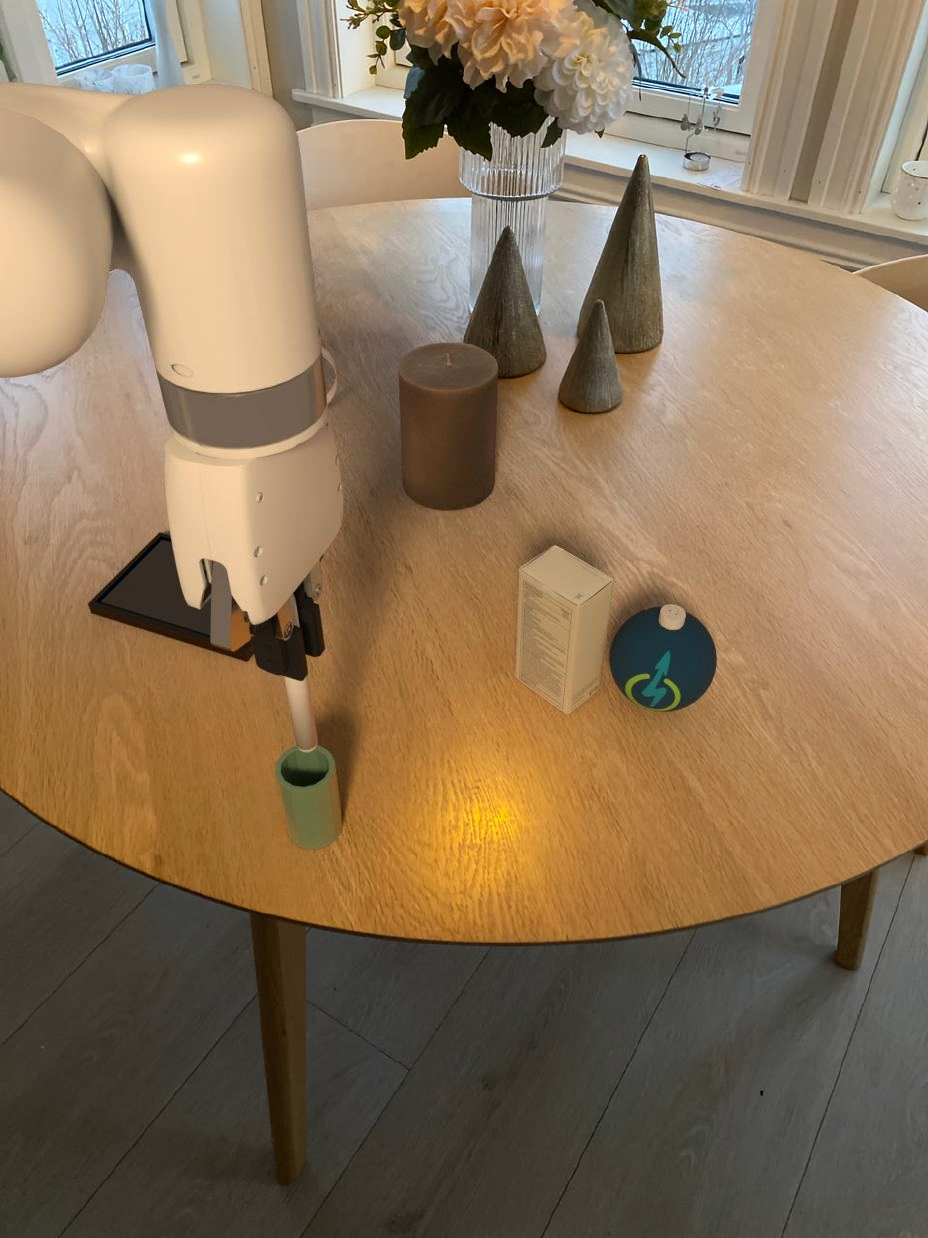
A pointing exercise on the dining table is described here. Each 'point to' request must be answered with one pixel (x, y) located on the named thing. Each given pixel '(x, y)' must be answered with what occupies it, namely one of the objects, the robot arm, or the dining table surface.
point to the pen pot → (309, 797)
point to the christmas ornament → (663, 658)
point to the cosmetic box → (562, 627)
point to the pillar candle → (448, 424)
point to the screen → (159, 593)
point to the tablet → (154, 625)
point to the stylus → (301, 703)
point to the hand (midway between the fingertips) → (291, 658)
